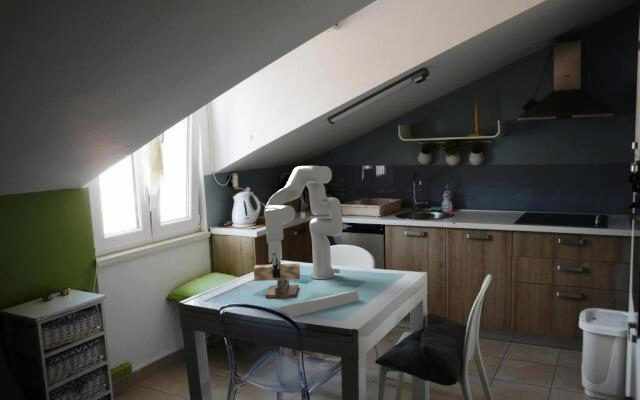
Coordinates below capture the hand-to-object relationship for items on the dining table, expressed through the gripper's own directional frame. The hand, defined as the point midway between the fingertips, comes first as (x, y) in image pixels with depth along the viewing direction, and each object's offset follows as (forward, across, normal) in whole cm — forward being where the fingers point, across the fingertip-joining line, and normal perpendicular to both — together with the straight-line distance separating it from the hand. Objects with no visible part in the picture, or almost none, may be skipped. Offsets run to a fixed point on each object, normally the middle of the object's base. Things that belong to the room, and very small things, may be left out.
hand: (277, 275), depth 232 cm
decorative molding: (+13, +6, +19) cm, 24 cm away
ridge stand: (+13, -15, 0) cm, 20 cm away
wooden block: (+1, 0, 0) cm, 1 cm away
